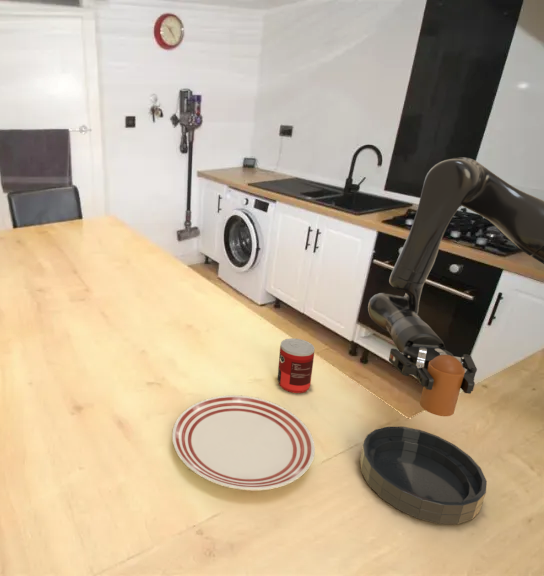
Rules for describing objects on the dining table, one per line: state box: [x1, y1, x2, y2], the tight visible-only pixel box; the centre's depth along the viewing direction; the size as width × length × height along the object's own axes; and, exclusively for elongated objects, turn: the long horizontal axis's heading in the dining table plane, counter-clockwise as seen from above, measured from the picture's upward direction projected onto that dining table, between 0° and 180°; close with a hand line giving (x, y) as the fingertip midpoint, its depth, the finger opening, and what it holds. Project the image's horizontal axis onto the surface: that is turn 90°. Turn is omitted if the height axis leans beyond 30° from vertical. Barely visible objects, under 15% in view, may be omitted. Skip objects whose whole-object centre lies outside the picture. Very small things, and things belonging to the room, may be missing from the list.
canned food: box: [277, 337, 315, 394], centre depth 100 cm, size 8×8×11 cm
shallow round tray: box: [359, 426, 488, 525], centre depth 72 cm, size 18×18×4 cm
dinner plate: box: [171, 394, 316, 491], centre depth 81 cm, size 28×27×3 cm
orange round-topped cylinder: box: [419, 355, 465, 417], centre depth 72 cm, size 5×5×10 cm
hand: (449, 386), depth 69 cm, fingers closed on orange round-topped cylinder, 5 cm apart
